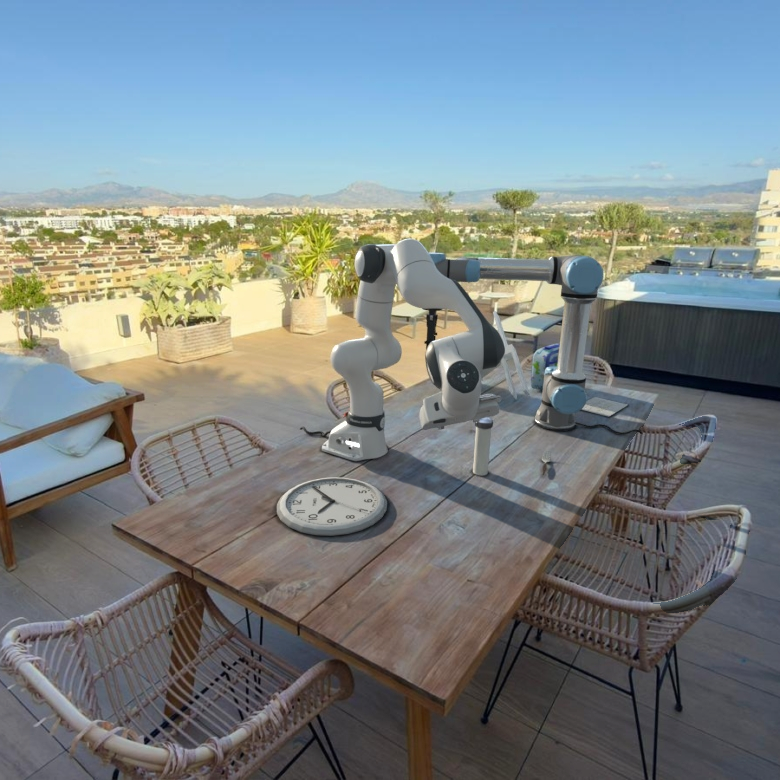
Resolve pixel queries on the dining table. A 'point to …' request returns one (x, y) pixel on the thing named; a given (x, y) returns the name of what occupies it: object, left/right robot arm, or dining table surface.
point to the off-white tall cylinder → (481, 451)
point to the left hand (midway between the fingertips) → (458, 423)
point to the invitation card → (603, 406)
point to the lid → (484, 423)
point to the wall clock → (331, 506)
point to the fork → (545, 461)
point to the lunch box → (543, 364)
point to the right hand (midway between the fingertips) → (430, 357)
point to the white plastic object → (509, 354)
